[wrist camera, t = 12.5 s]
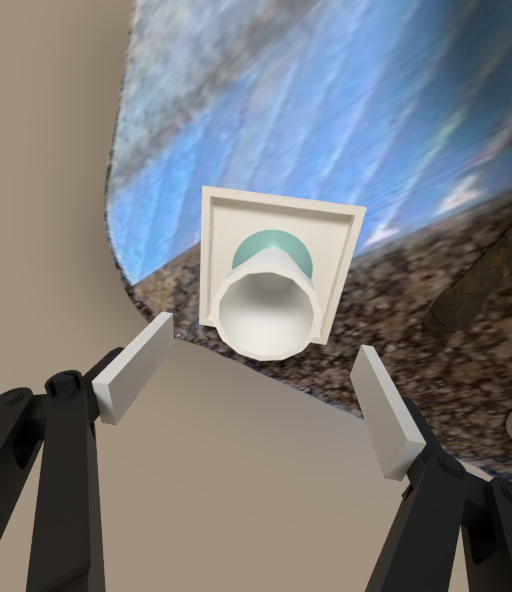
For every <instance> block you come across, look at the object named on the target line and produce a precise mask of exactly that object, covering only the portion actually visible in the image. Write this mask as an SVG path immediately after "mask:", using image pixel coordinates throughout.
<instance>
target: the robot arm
mask: <svg viewBox="0 0 512 592" xmlns="http://www.w3.org/2000/svg"><path fill="white" fill-rule="evenodd" d="M173 346H174V334H173V313H167V312H161V313H160V314H159V315H158V316H157V317H156V318H155V319H154V320H153V321H152V322H151V323H150V324H149V325H148V326H147V327H146V328H145V329H144V330H143V332H141V333H140V334H139V335H138V336H137V337H136V338H135V339H134V340H133V341H132V342H131V343H130V344H129V345H128V346H127V347H126V348H121V347H118V348H116V349H114V350H112V351H110V352H109V353H108V354H107V355H106V356H105V357H104V358H103V359H102V360H100V361H99V362H98V363H97V365H95V366H94V367H93V368H92V369H90V370H89V372H87V373H86V374H85V375H84V376H83V377H82V375H81V372H79V371H77V370H68V371H63V372H60V373H57V374H56V375H54V376H52V377H51V378H50V379H48V380H47V381H46V383H45V385H44V386H45V389H46V392H47V394H42V395H33V393H32V391H31V389H29V388H26V387H25V388H24V387H23V388H16V389H12V390H9V391H7V392H5V393H3V394H1V395H0V539H1V537H2V535H3V533H4V530H5V528H6V526H7V523H8V521H9V519H10V517H11V514H12V512H13V510H14V507H15V505H16V502H17V501H18V498H19V496H20V494H21V491H22V489H23V487H24V484H25V482H26V480H27V478H28V475H29V473H30V471H31V469H32V466H33V464H34V462H35V459H36V457H37V455H38V453H39V450H40V448H41V445H42V443H43V441H44V446H43V455H42V463H41V471H40V479H39V487H38V495H37V503H36V511H35V520H34V528H33V536H32V544H31V552H30V561H29V569H28V578H27V585H26V592H106V591H105V576H104V560H103V546H102V545H103V544H102V529H101V514H100V513H101V512H100V496H99V482H98V465H97V449H96V433H95V424H94V421H95V420H96V419H97V417H98V416H99V415H100V417H101V421H102V423H107V424H112V425H117V424H118V422H119V421H120V419H121V418H122V417H123V415H124V414H125V412H126V411H127V410H128V408H129V407H130V406H131V404H132V403H133V401H134V400H135V399H136V397H137V396H138V395H139V393H140V392H141V390H142V389H143V388H144V386H145V385H146V383H147V382H148V381H149V379H150V378H151V376H152V375H153V374H154V372H155V371H156V369H157V368H158V367H159V365H160V364H161V362H162V361H163V360H164V358H165V357H166V356H167V354H168V353H169V351H170V350H171V349H172V347H173ZM350 378H351V381H352V384H353V386H354V389H355V392H356V395H357V398H358V401H359V404H360V407H361V410H362V413H363V416H364V419H365V422H366V425H367V428H368V431H369V434H370V437H371V439H372V443H373V446H374V448H375V451H376V454H377V457H378V460H379V463H380V466H381V469H382V472H383V475H384V478H388V479H393V480H398V481H402V479H403V478H404V476H405V475H406V474H407V476H408V479H409V481H410V484H409V486H408V487H407V489H406V490H405V492H404V493H403V494H402V497H403V500H402V502H401V505H400V507H399V509H398V512H397V514H396V517H395V519H394V522H393V524H392V526H391V529H390V531H389V534H388V536H387V539H386V541H385V543H384V546H383V548H382V551H381V553H380V556H379V558H378V561H377V563H376V565H375V568H374V570H373V573H372V575H371V577H370V580H369V582H368V585H367V587H366V590H365V592H448V589H449V583H450V578H451V572H452V567H453V562H454V557H455V551H456V545H457V541H458V535H459V530H460V525H461V531H462V539H463V547H464V554H465V562H466V570H467V578H468V585H469V592H512V482H511V481H509V480H507V479H504V478H502V477H494V478H493V479H492V480H491V481H490V482H488V481H485V480H484V479H482V478H479V477H477V476H475V475H473V474H470V473H469V472H467V471H466V470H465V468H464V467H463V465H462V464H461V463H460V462H459V461H458V460H457V459H455V458H454V457H453V456H451V455H450V454H448V453H446V452H444V450H443V448H442V447H441V445H440V443H439V442H438V440H437V438H436V437H435V435H434V433H433V432H432V430H431V428H430V427H429V425H428V424H427V422H426V420H425V418H424V417H423V416H422V413H421V412H420V410H419V408H418V407H417V405H416V404H415V403H414V402H413V401H412V400H411V399H410V398H409V397H404V396H400V395H399V393H398V391H397V389H396V387H395V385H394V384H393V382H392V380H391V378H390V376H389V375H388V373H387V371H386V369H385V367H384V365H383V364H382V362H381V360H380V358H379V356H378V354H377V353H376V351H375V349H374V347H373V346H367V345H361V347H360V350H359V353H358V355H357V358H356V361H355V363H354V366H353V369H352V371H351V374H350Z"/></svg>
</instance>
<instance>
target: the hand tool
mask: <svg viewBox="0 0 512 592" xmlns="http://www.w3.org/2000/svg"><path fill="white" fill-rule="evenodd" d="M511 274H512V226H511V227H510V228H509V230H508V231H507V232H506V233H505V234H504V235H503V236H502V237H501V238H500V239H499V240H498V241H497V242H496V243H495V244H494V245H493V246H492V247H491V248H489V249H487V251H486V253H485V254H484V255H483V256H482V257H481V258H480V259H479V260H478V261H477V262H476V263H475V265H474V266H473V267H472V268H471V269H470V270H469V271H468V272H467V273H466V274H465V275H464V276H463V277H462V278H461V279H460V280H459V281H458V282H457V283H456V284H455V285H454V286H453V287H451V288H447V289H445V290H444V291H443V292H442V293H441V294H440V295H439V297H438V298H437V299H436V301H435V302H434V304H433V305H432V307H431V308H430V310H429V311H428V313H427V315H426V317H425V319H424V321H423V325H424V326H425V328H427V329H428V330H429V331H431V332H437V333H450V332H451V333H455V332H456V331H457V330H459V329H460V328H461V327H462V326H463V325H464V324H465V323H467V322H469V321H470V320H472V319H473V318H475V317H476V316H477V315H478V314H479V313H480V312H481V311H482V305H481V303H482V302H483V301H484V300H485V298H486V297H487V296H488V295H489V294H490V293H491V292H492V291H493V290H495V289H496V288H497V287H498V286H499V285H500V284H502V283H503V282H504V281H505V280H506V279H507V278H508V277H509V276H510V275H511Z"/></svg>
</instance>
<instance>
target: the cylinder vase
mask: <svg viewBox="0 0 512 592" xmlns="http://www.w3.org/2000/svg"><path fill="white" fill-rule="evenodd" d="M506 429H507V432H508V434H509V436H510V437H511V438H512V411H511V412H510V414H509V415H508V417H507V420H506Z"/></svg>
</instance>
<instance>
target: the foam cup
mask: <svg viewBox="0 0 512 592" xmlns="http://www.w3.org/2000/svg"><path fill="white" fill-rule="evenodd" d="M321 314H322V313H321V309H320V306H319V303H318V299H317V296H316V293H315V289H314V286H313V283H312V281H311V280H310V279H309V278H308V277H307V276H306V275H305V274H304V273H303V272H302V271H301V270H300V268H299V267H298V265H297V264H296V263H295V261H294V260H293V259H292V258H291V257H290V256H289V255H288V254H287V253H286V252H285V251H283V250H280V249H277V248H268V249H263V250H262V251H260V252H259V253H257V254H255V255H254V256H253V257H251V258H250V259H249V260H247V261H246V262H244V263H242V264H241V265H239V266H238V267H236V268H234V269H233V270H231V271H230V272H229V274H228V275H227V277H226V278H225V280H224V281H223V283H222V285H221V286H220V288H219V290H218V292H217V293H216V295H215V297H214V299H213V323H214V325H215V327H216V329H217V331H218V333H219V335H220V337H221V339H222V340H223V341H224V342H225V343H227V344H228V345H229V346H230V347H231V348H233V349H234V350H235V351H236V352H237V353H239V354H241V355H244V356H247V357H250V358H253V359H256V360H259V361H266V360H283V359H285V358H288V357H290V356H292V355H294V354H297V353H299V352H301V351H303V350H304V349H305V348H306V346H307V345H308V344H309V343H310V342H311V341H312V340H313V338H314V337H315V336H316V335H317V332H318V327H319V323H320V319H321Z"/></svg>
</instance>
